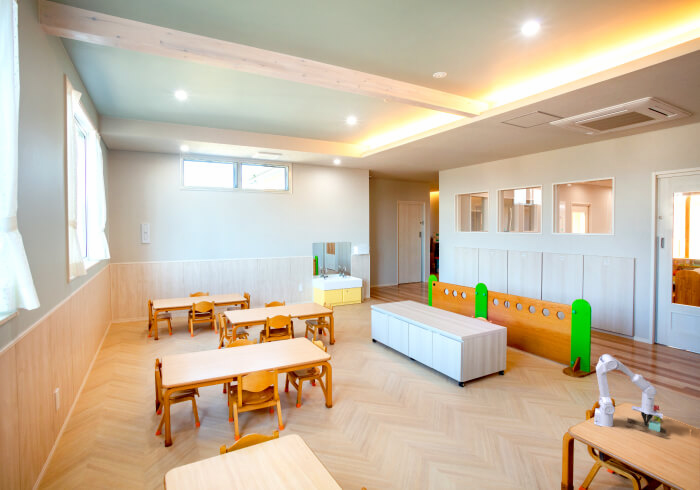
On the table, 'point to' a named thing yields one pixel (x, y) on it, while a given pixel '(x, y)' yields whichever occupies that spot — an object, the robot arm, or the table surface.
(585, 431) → the table surface
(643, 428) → the chute
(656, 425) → the block
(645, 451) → the table surface
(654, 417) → the bird rattle
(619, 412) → the table surface
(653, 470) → the table surface
